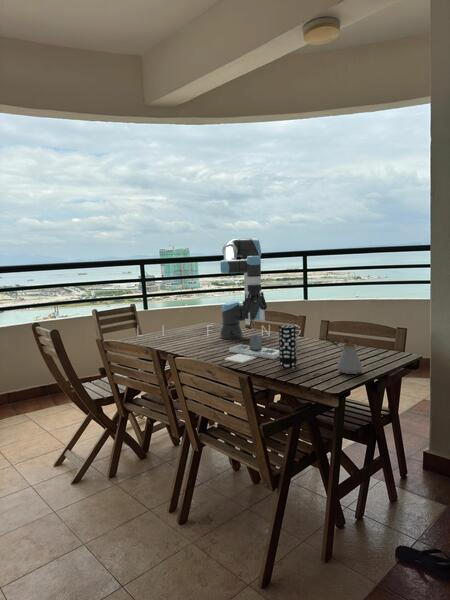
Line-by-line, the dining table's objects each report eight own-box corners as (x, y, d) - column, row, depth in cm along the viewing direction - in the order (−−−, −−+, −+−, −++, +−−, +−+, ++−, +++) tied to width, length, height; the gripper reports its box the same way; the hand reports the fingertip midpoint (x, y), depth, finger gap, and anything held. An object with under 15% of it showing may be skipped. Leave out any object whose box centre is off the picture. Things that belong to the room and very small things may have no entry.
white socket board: (229, 351, 238) (229, 347, 238) (240, 348, 246) (239, 344, 245) (273, 359, 219) (273, 354, 219) (283, 355, 227) (283, 350, 226)
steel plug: (254, 352, 236) (254, 334, 234) (261, 353, 233) (261, 335, 231) (250, 354, 232) (249, 336, 231) (256, 355, 229) (256, 337, 228)
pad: (238, 355, 230) (238, 353, 230) (256, 358, 222) (256, 356, 222) (224, 360, 221) (224, 358, 221) (242, 363, 213) (242, 361, 213)
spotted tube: (286, 369, 200) (285, 328, 197) (276, 365, 207) (275, 326, 205) (300, 367, 204) (299, 326, 201) (289, 363, 211) (289, 324, 208)
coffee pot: (368, 373, 190) (368, 341, 188) (350, 378, 184) (351, 344, 182) (332, 363, 208) (332, 333, 206) (315, 367, 202) (315, 337, 200)
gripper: (246, 286, 216) (247, 326, 218) (272, 282, 235) (273, 320, 237) (234, 285, 221) (235, 325, 223) (261, 282, 240) (262, 319, 242)
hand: (255, 322), depth 230 cm, fingers open, 13 cm apart
